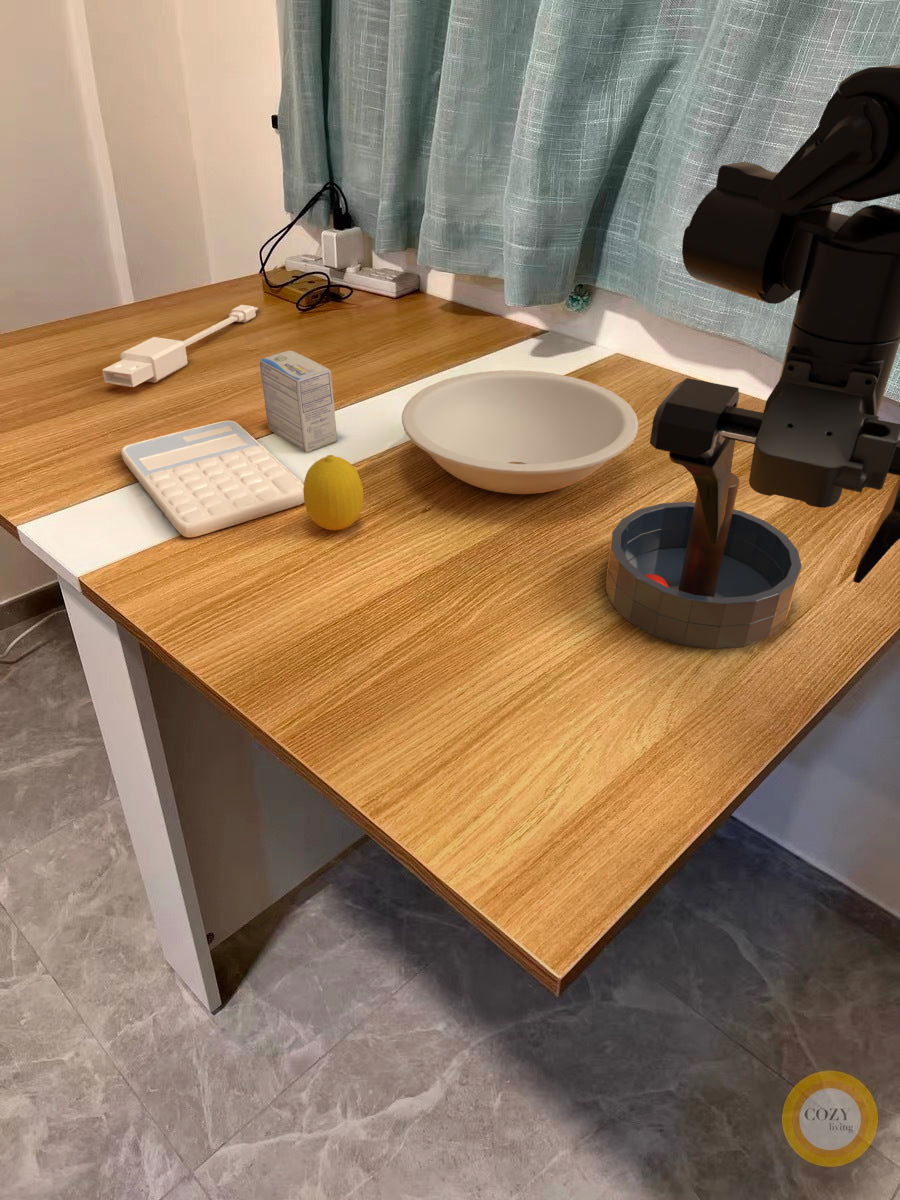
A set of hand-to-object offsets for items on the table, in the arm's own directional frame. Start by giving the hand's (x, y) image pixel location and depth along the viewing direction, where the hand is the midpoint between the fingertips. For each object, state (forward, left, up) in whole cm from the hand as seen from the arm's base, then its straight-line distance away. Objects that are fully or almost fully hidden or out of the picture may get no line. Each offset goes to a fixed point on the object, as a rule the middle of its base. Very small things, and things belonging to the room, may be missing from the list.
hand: (783, 560), depth 58 cm
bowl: (+7, -11, -12) cm, 18 cm away
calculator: (+57, -7, -13) cm, 59 cm away
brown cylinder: (+7, -11, -12) cm, 18 cm away
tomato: (+10, -7, -10) cm, 16 cm away
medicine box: (+55, -20, -13) cm, 60 cm away
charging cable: (+84, -34, -13) cm, 92 cm away
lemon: (+40, -5, -13) cm, 42 cm away
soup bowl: (+30, -24, -13) cm, 40 cm away
